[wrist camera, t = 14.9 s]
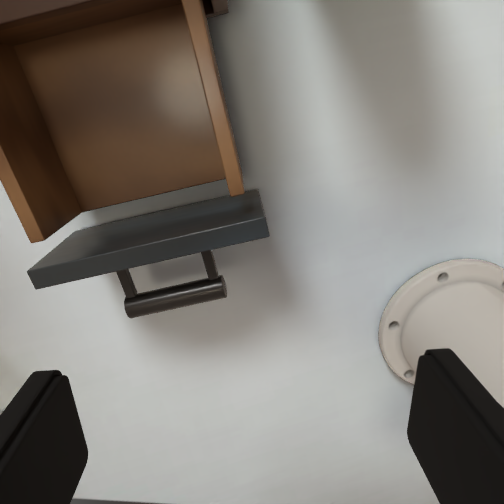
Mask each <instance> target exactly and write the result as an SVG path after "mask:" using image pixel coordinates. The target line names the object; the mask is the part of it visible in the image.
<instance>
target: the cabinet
mask: <svg viewBox="0 0 504 504" xmlns="http://www.w3.org/2000/svg"><path fill="white" fill-rule="evenodd" d="M114 1H118V0H0V31H1V30H5V29H9V28H12V27H16V26H20V25H24V24H28V23H32V22H36V21H40V20H44V19H48V18H52V17H56V16H59V15H63V14H67V13H71V12H75V11H79V10H83V9H87V8H91V7H95V6H99V5H102V4H106V3H110V2H114ZM202 1H203V6H204V10H205V14H206V18H209V17H213V16H217V15H221V14H225V13H228V0H202Z"/></svg>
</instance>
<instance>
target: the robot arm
mask: <svg viewBox="0 0 504 504" xmlns="http://www.w3.org/2000/svg"><path fill="white" fill-rule="evenodd" d="M378 336H379V345H380V348H381V351H382V354H383V356H384V358H385V360H386V361H387V363H388V365H389V366H390V368H391V369H392V370H393V371H394V372H395V374H396V375H398V376H399V377H400V378H401V379H403V380H404V381H407V382H409V383H411V384H413V385H414V390H413V396H412V403H411V409H410V415H409V422H408V428H407V435H408V440H409V443H410V445H411V447H412V449H413V451H414V453H415V455H416V457H417V459H418V461H419V463H420V465H421V467H422V469H423V471H424V473H425V475H426V477H427V479H428V481H429V483H430V485H431V487H432V489H433V491H434V493H435V495H436V496H437V498H438V500H439V502H440V504H504V269H503V268H501V267H499V266H497V265H496V264H493V263H490V262H487V261H484V260H477V259H456V260H450V261H446V262H442V263H439V264H436V265H434V266H432V267H429V268H427V269H425V270H423V271H421V272H420V273H418V274H416V275H415V276H413V277H412V278H410V279H409V280H408V281H407V282H406V283H405V284H404V285H402V286H401V287H400V288H399V289H398V291H397V292H396V293H395V294H394V295H393V297H392V298H391V299H390V301H389V303H388V304H387V306H386V308H385V309H384V312H383V315H382V318H381V320H380V325H379V333H378ZM87 459H88V448H87V445H86V441H85V437H84V434H83V430H82V426H81V423H80V419H79V416H78V412H77V408H76V405H75V401H74V397H73V394H72V390H71V386H70V383H69V379H68V377H67V376H65V375H62V374H61V372H60V371H59V370H50V371H36V372H33V373H32V374H31V375H30V377H29V378H28V379H27V381H26V382H25V383H24V385H23V386H22V387H21V389H20V390H19V391H18V393H17V394H16V395H15V397H14V398H13V399H12V401H11V402H10V403H9V405H8V406H7V407H6V409H5V410H4V411H3V413H2V414H1V415H0V504H70V502H71V500H72V498H73V495H74V493H75V490H76V488H77V486H78V483H79V481H80V478H81V476H82V473H83V471H84V469H85V466H86V463H87Z"/></svg>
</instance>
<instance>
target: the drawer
mask: <svg viewBox="0 0 504 504" xmlns="http://www.w3.org/2000/svg"><path fill="white" fill-rule="evenodd" d="M222 179H226V181H227V185H228V189H229V193H230V195H229V196H225V197H221V198H216V199H212V200H208V201H203V202H199V203H195V204H190V205H186V206H182V207H177V208H173V209H169V210H164V211H160V212H156V213H151V214H147V215H143V216H139V217H134V218H130V219H126V220H121V221H117V222H113V223H108V224H104V225H100V226H95V227H91V228H87V229H82V230H78V231H75V232H73V233H72V234H71V235H70V236H69V237H67V238H66V239H65V240H64V241H63V242H61V243H60V244H59V245H58V246H57V247H55V248H54V249H53V250H52V251H51V252H49V253H48V254H47V255H46V256H45V257H44V258H42V259H41V260H40V261H39V262H38V263H36V264H35V265H34V266H33V267H32V268H30V269H29V270H28V271H27V273H28V275H29V277H30V279H31V281H32V283H33V285H34V287H35V289H40V288H45V287H49V286H54V285H58V284H63V283H67V282H71V281H76V280H80V279H85V278H89V277H93V276H98V275H102V274H107V273H111V272H117V275H118V277H119V280H120V282H121V285H122V287H123V290H124V292H125V295H126V298H125V301H124V306H125V311H126V313H127V315H128V317H129V318H135V317H140V316H144V315H149V314H153V313H158V312H162V311H167V310H172V309H176V308H181V307H185V306H190V305H194V304H199V303H203V302H208V301H212V300H217V299H221V298H226V297H227V290H226V285H225V281H224V278H223V276H222V275H219V276H218V271H217V267H216V264H215V260H214V257H213V253H212V250H213V249H217V248H222V247H226V246H231V245H235V244H239V243H244V242H248V241H253V240H257V239H261V238H266V237H269V236H270V235H269V231H268V226H267V221H266V217H265V213H264V210H263V206H262V203H261V199H260V195H259V192H258V189H255V190H251V191H246V192H245V191H244V183H243V175H242V169H241V165H240V161H239V156H238V152H237V148H236V143H235V139H234V135H233V130H232V126H231V122H230V117H229V113H228V109H227V105H226V100H225V96H224V92H223V87H222V83H221V79H220V74H219V70H218V66H217V62H216V57H215V53H214V49H213V44H212V40H211V36H210V31H209V27H208V23H207V18H206V14H205V10H204V6H203V1H202V0H118V1H114V2H110V3H106V4H102V5H99V6H95V7H91V8H87V9H83V10H79V11H75V12H71V13H67V14H63V15H59V16H56V17H52V18H48V19H44V20H40V21H36V22H32V23H28V24H24V25H20V26H16V27H12V28H9V29H5V30H1V31H0V180H1V182H2V184H3V186H4V188H5V190H6V192H7V195H8V197H9V199H10V201H11V203H12V205H13V207H14V209H15V211H16V213H17V215H18V217H19V219H20V221H21V223H22V226H23V228H24V230H25V232H26V234H27V236H28V238H29V240H30V242H31V243H35V242H39V241H44V240H45V239H47V238H48V237H49V236H51V235H52V234H53V233H55V232H56V231H57V230H59V229H60V228H62V227H63V226H64V225H66V224H67V223H68V222H70V221H71V220H72V219H74V218H75V217H76V216H78V215H79V214H80V213H82V212H85V211H90V210H94V209H98V208H102V207H107V206H111V205H115V204H119V203H124V202H128V201H132V200H137V199H141V198H145V197H149V196H154V195H158V194H162V193H167V192H171V191H175V190H179V189H184V188H188V187H192V186H197V185H201V184H205V183H209V182H214V181H218V180H222ZM200 252H201V254H202V257H203V261H204V264H205V267H206V271H207V274H208V277H209V278H206V279H201V280H197V281H192V282H188V283H183V284H179V285H174V286H170V287H165V288H161V289H156V290H152V291H147V292H143V293H138V294H137V290H136V288H135V285H134V283H133V280H132V277H131V275H130V272H129V270H128V269H129V268H133V267H138V266H142V265H147V264H151V263H155V262H160V261H164V260H169V259H173V258H177V257H182V256H186V255H191V254H195V253H200Z"/></svg>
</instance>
